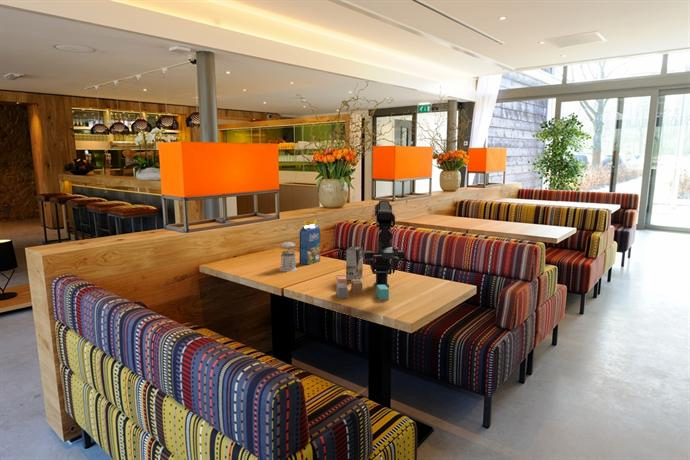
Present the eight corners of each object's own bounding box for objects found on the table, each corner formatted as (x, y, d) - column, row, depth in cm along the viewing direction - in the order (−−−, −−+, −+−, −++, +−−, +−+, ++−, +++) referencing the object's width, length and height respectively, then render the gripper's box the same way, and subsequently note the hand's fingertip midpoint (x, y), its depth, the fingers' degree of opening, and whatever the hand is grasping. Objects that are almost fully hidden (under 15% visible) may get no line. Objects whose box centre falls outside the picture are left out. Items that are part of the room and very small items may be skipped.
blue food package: (299, 263, 263) (299, 221, 259) (312, 259, 273) (312, 218, 269) (307, 265, 260) (307, 222, 255) (320, 261, 270) (320, 219, 265)
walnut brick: (351, 289, 216) (351, 279, 215) (359, 289, 217) (359, 279, 216) (353, 294, 209) (353, 283, 208) (362, 293, 210) (362, 283, 209)
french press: (293, 266, 257) (293, 222, 253) (300, 271, 247) (300, 226, 242) (277, 267, 253) (276, 223, 248) (283, 273, 242) (283, 227, 238)
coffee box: (357, 281, 229) (358, 250, 227) (345, 279, 231) (346, 249, 229) (362, 276, 238) (363, 246, 235) (351, 275, 240) (351, 245, 237)
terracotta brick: (336, 285, 223) (336, 275, 222) (344, 284, 223) (344, 275, 222) (338, 289, 216) (338, 279, 215) (346, 289, 217) (346, 278, 216)
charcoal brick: (336, 294, 209) (336, 283, 208) (344, 293, 209) (345, 283, 209) (338, 298, 202) (338, 288, 201) (347, 298, 203) (347, 287, 202)
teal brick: (376, 295, 208) (376, 284, 207) (384, 295, 208) (385, 284, 208) (379, 300, 201) (380, 289, 200) (388, 299, 202) (388, 289, 201)
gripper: (367, 242, 191) (366, 278, 193) (410, 241, 194) (408, 277, 196) (362, 238, 202) (361, 272, 204) (402, 237, 205) (401, 271, 207)
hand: (383, 273), depth 203 cm, fingers open, 9 cm apart
